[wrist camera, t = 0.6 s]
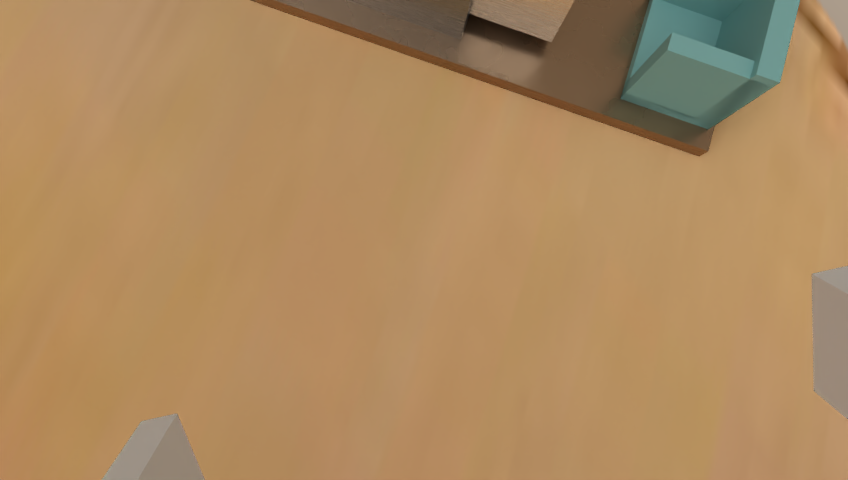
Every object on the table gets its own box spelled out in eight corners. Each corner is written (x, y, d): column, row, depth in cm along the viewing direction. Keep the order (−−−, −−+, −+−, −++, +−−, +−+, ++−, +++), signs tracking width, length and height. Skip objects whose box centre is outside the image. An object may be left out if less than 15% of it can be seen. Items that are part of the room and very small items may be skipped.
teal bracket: (620, 98, 35) (672, 45, 29) (652, -10, 37) (708, -84, 30) (708, 129, 35) (779, 82, 29) (737, 20, 37) (811, -48, 30)
